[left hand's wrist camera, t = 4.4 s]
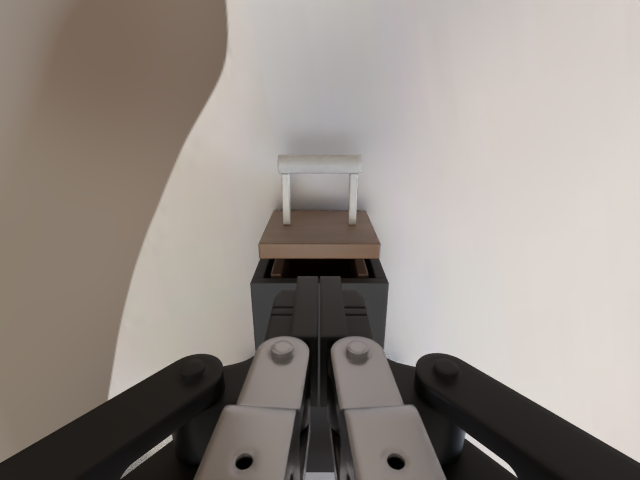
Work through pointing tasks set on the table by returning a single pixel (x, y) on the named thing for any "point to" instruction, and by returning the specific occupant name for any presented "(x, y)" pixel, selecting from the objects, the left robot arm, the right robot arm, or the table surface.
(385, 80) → the table surface
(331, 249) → the drawer
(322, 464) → the cabinet
